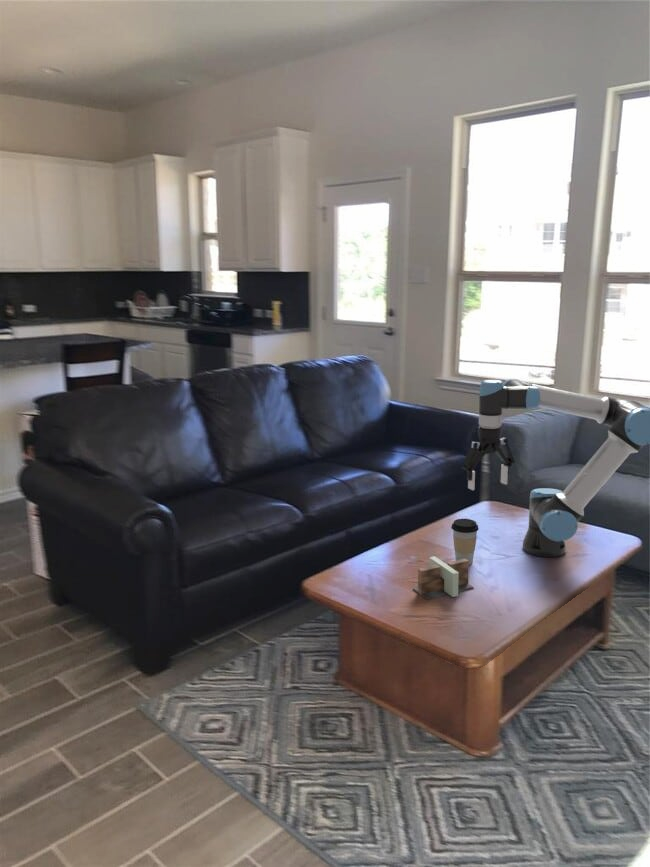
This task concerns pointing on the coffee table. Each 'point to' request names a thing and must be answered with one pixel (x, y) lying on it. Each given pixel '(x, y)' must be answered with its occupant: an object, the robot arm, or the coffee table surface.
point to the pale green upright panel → (447, 576)
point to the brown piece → (441, 579)
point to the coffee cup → (464, 538)
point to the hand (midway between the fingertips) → (487, 486)
